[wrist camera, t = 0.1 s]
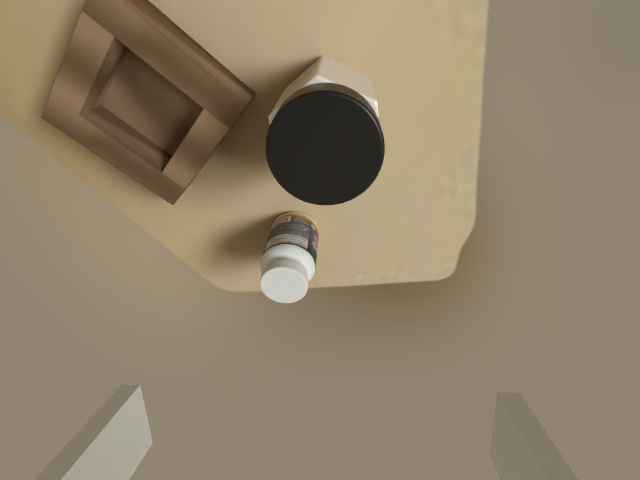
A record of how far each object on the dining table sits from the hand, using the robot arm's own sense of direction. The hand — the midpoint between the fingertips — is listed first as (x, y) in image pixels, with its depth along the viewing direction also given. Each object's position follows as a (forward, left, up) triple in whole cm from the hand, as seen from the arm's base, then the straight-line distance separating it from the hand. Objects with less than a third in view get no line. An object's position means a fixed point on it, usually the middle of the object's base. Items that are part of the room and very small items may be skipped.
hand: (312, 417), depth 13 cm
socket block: (+7, -15, -28) cm, 33 cm away
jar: (-3, -3, -28) cm, 28 cm away
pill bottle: (+10, +4, -28) cm, 30 cm away
